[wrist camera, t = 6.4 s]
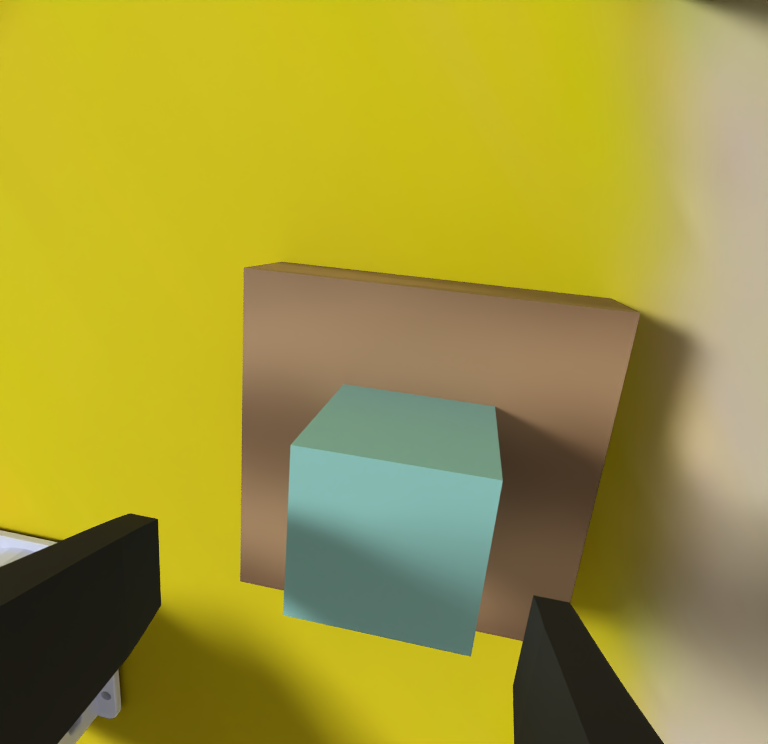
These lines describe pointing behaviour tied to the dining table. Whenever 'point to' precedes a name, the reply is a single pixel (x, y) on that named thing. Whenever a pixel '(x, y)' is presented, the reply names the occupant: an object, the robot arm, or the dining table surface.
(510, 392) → the walnut base
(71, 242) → the dining table surface
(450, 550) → the teal cube
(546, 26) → the dining table surface
